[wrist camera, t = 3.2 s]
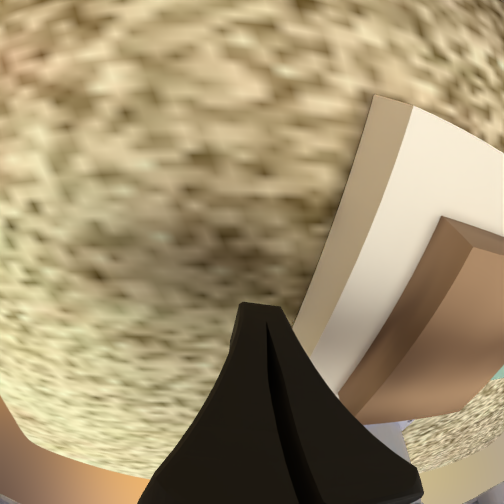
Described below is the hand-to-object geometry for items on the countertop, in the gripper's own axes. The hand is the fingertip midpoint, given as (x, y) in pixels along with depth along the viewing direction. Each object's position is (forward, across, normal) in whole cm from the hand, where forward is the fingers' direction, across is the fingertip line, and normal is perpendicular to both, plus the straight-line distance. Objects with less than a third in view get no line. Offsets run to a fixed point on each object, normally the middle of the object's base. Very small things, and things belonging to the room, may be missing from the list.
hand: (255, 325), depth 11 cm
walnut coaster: (+1, -9, 0) cm, 9 cm away
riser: (+4, -9, 0) cm, 10 cm away
